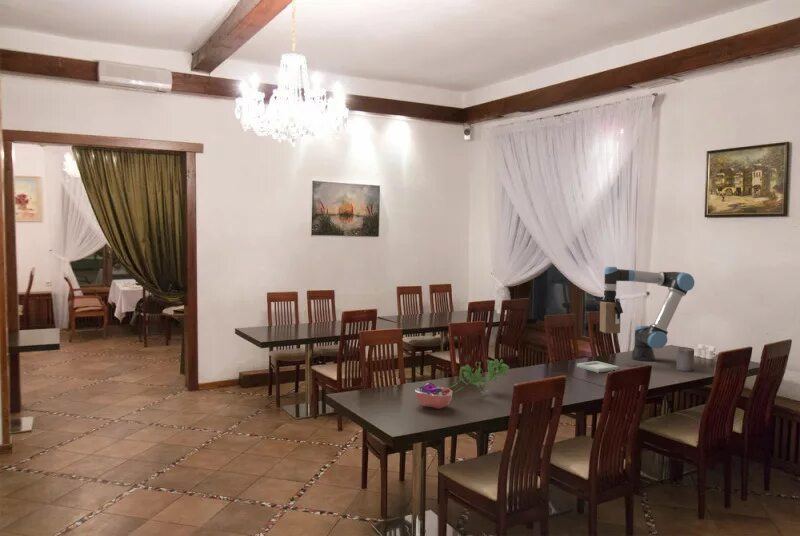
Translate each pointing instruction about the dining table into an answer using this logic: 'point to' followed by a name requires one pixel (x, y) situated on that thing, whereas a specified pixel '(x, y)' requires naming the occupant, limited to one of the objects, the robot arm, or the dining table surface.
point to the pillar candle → (685, 359)
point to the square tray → (597, 366)
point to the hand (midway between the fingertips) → (609, 322)
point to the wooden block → (608, 318)
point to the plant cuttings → (491, 365)
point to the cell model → (433, 396)
